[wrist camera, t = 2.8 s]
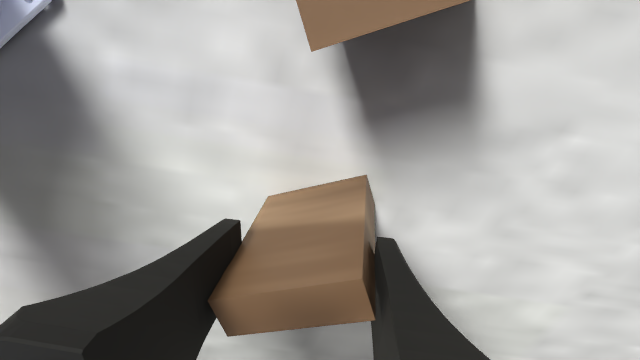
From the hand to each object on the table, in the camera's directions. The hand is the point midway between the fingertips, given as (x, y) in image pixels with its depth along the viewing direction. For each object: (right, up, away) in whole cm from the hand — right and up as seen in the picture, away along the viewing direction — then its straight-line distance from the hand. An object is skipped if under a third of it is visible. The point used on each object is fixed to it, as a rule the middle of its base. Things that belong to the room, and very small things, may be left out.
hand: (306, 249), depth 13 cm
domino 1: (+1, +2, +3) cm, 4 cm away
